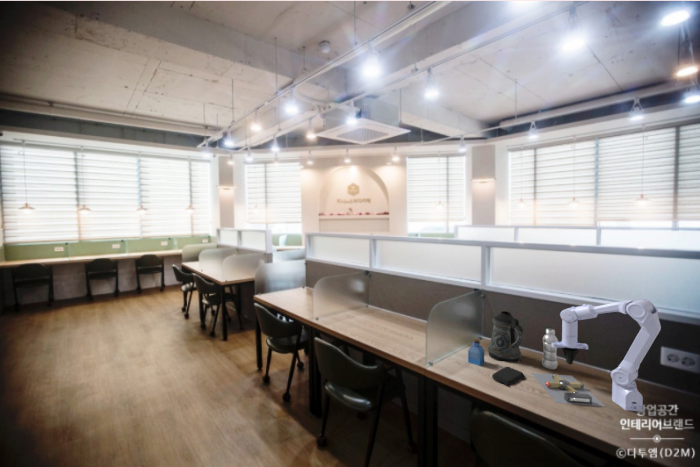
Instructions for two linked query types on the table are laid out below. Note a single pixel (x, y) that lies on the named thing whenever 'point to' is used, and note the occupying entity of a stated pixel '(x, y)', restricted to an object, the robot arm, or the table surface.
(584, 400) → the level window
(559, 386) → the cam capstan
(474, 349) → the perfume bottle
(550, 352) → the plastic bottle
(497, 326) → the beer stein
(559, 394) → the level board
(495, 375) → the carrying case or bag
